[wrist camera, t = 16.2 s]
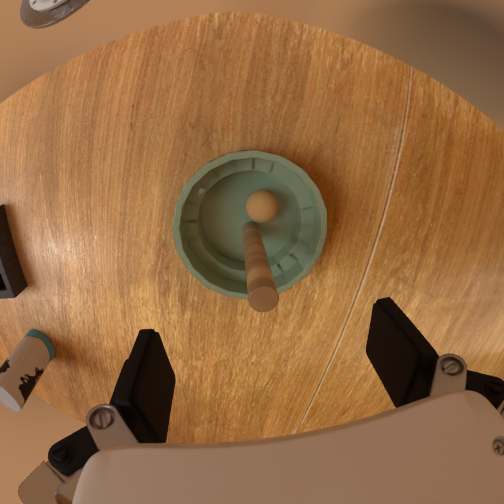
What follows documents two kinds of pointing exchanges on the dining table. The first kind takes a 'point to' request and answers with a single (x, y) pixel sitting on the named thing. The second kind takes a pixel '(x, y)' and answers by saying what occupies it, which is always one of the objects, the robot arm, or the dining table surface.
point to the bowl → (235, 216)
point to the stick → (258, 270)
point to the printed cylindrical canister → (24, 369)
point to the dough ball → (262, 206)
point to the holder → (9, 262)
